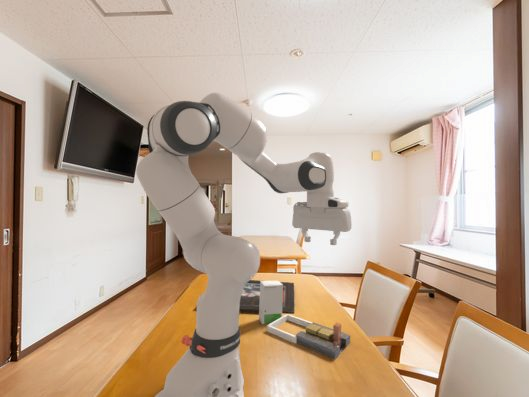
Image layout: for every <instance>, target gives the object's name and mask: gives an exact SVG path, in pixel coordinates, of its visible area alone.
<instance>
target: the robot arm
mask: <svg viewBox="0 0 529 397" xmlns="http://www.w3.org/2000/svg"><path fill="white" fill-rule="evenodd" d="M146 130H147V132H146V134H147V141H148V142H147V143H148V152H149V153H148V154H146V155H145V156H143V157H142V159H141V160H140V161H139V163H137V167H136V176H137V179H138V181H139V182H140V185H141V187H142V188H143V191H144V192H145V194H146V195H147V197H148V199H149V201H150V202H151V203H152V205H153V207H154V208H155V209H156V211H157V212H158V213H159V214H160V215H161V216H160V217H162V218H163V220H164V221H165V222H166V224H167V225H168V226H169V227H170V229H171V230H172V232H173V234H174V235H175V236H176V238H177V240H178V242H179V245H180V246H181V248H182V250H183V251H182V254H183V258H184V260H185V261H186V262H187V264H188V265H190V266H191V267H192V268H193V269H194V270H196V271H198V272H201V273H203V274H206V275H207V284H206V288H205V291H204V292H203V293H202V294H200V296H199V297H198V299H197V301H196V307H197V309H196V316H195V317H196V318H195V319H196V322H195V324H196V325H195V329H194V332H193V333H192V334H193V335H192V337H190V336H189V335H187V334H186V335H184V336H182V338H181V344H183V345H185V346H186V347H189V348H188V349H187V350H186V351H185V353H184V354H183V355H182V356H181V357H180V358H179V360H178V361H177V362H176V364H175V365H174V366H173V367H171V369H170V371H168V373H167V375H166V378H165V382H164V385H163V389H162V390H160V391H159V392H158V393H157V394H155V395H154V397H245V395H244V384H245V380H244V375H243V371H242V366H241V365H242V364H241V357H240V356H241V355H240V347H239V346H240V344H241V336H242V335H241V326H240V324H239V323H240V312H239V307H240V298H241V294H242V291H243V288H244V286H245V285H246V283H247V282H248V281H250V280H252V279H253V278H255V276H256V275H257V273H258V271H259V269H260V266H261V254H260V250H259V249H258V247H257V245H256V244H254V243H252V242H250V241H248V240H247V239H245V238H242V237H239V236H236V235H235V236H234V235H227V234H224V233H222V232H221V231H220V230H219V229H218V228H217V226H216V223H215V220H214V219H215V216H216V209H215V207H214V205H213V204H212V202H211V201H210V198H209V197H208V196H207V194H206V193H205V191H204V189H203V188H202V187H201V185H200V183H199V182H198V181H197V178H196V177H195V176H194V174H193V173H192V171H191V167H190V164H189V157H190V156H192V155H197V154H199V153H201V152H203V151H204V150H206V149H207V148H208V147H209V146H210V145H211V143H212V142H215V143H218V144H219V145H220V146H222V147H223V148H225V149H226V150H228V151H230V152H231V153H232V154H234V155H235V156H237V157H238V159H240V161H241V162H242V163H244V164H245V165H246V166H247V167H248V168H250V169H251V170H252V171H254V172H255V173H257V174H258V175H259V176H260V177H262V178H263V179H264V180H265V181H266V182H267V184H268V185H269V187H270V189H272V190H273V191H274V192H275V193H277V194H286V193H287V194H288V193H301V192H303V193H304V192H306V201H303V202H301V201H298V202H296V203H295V204H294V205H293V211H292V212H293V214H292V226H293V228H295V229H301V231H300V232H301V234H302V235H303V237H304V243H311V241H312V240H311V236H309V234H308V232H309V230H318V231H328V232H333V235H334V236H333V237H332V238H331V239H330V240H329V242H330V246H337V240H338V238H339V237H340V236H341V233H347V232H350V231H351V230H352V216H351V211H350V209H348V207H349V202H348V200H344V199H341V198H339V197H335V196H334V194H335V192H334V189H333V185H334V180H335V179H334V178H335V177H334V173H335V172H334V162H333V159H332V157H331V155H330V154H328V153H326V152H319V151H318V152H312V153H310V154H309V155H308V156H307V157H306V158H304V159H301V160H299V161H298V160H297V161H295V162H290V163H289V162H288V163H277V162H275V161H273V160H272V159H271V158H270V157H269V156H268V155H267V154H266V153H265V152H263V151H264V150H265V147H266V144H267V142H268V132H267V128H266V126H265V125H264V123H263V122H262V121H261V120H260V119H259V118H258V117H257V116H256V115H255V114H253V113H251V111H249V110H248V109H247V108H245V107H244V106H243V105H241V104H240V103H238V102H236V101H234V100H233V99H231V98H229V97H228V96H226V95H223V94H221V93H218V92H211V93H208V94H207V95H205V96H204V97H202V99H201V100H200V102H198V101H191V100H180V101H176V102H173V103H171V104H170V105H169V104H168V105H165V106H163V107H161V108H160V109H159V110H157V112H155V113H154V114H153V115H152V116H151V118H150V119H149V121H148V123H147V128H146Z"/></svg>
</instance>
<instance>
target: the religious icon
mask: <svg viewBox="0 0 529 397" xmlns="http://www.w3.org/2000/svg"><path fill="white" fill-rule="evenodd" d="M260 281H261V280H258V279H257V280H255V279H253V280H252V279H251V280H250V281H248V282H247V283H246V285H245V286H244V288H243V291H242V294H241V298H240V307H239V314H240V313H241V314H242V313H244V314H245V313H247V314H259V303H260ZM279 282H280V283H282V284H283V301H282V314H291V315H292V314H295V282H285V281H279ZM195 308H196V310H197V306H196V307H195Z"/></svg>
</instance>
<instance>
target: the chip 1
mask: <svg viewBox="0 0 529 397" xmlns="http://www.w3.org/2000/svg"><path fill="white" fill-rule="evenodd" d="M312 323H313V322H312ZM312 323H311V324H310V325H308V326H307V327H305V333H308V334H311V335H313V336H316V337H318V331H319V330H320V329H322V327H321V326H318V325H315V324H312Z"/></svg>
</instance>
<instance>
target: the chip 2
mask: <svg viewBox="0 0 529 397" xmlns="http://www.w3.org/2000/svg"><path fill="white" fill-rule="evenodd" d="M318 338H321V339H323V340H326V341H329V342H331V343H333V331H332V330H329V329H326V328H322V329H320V330H319V331H318Z"/></svg>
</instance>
